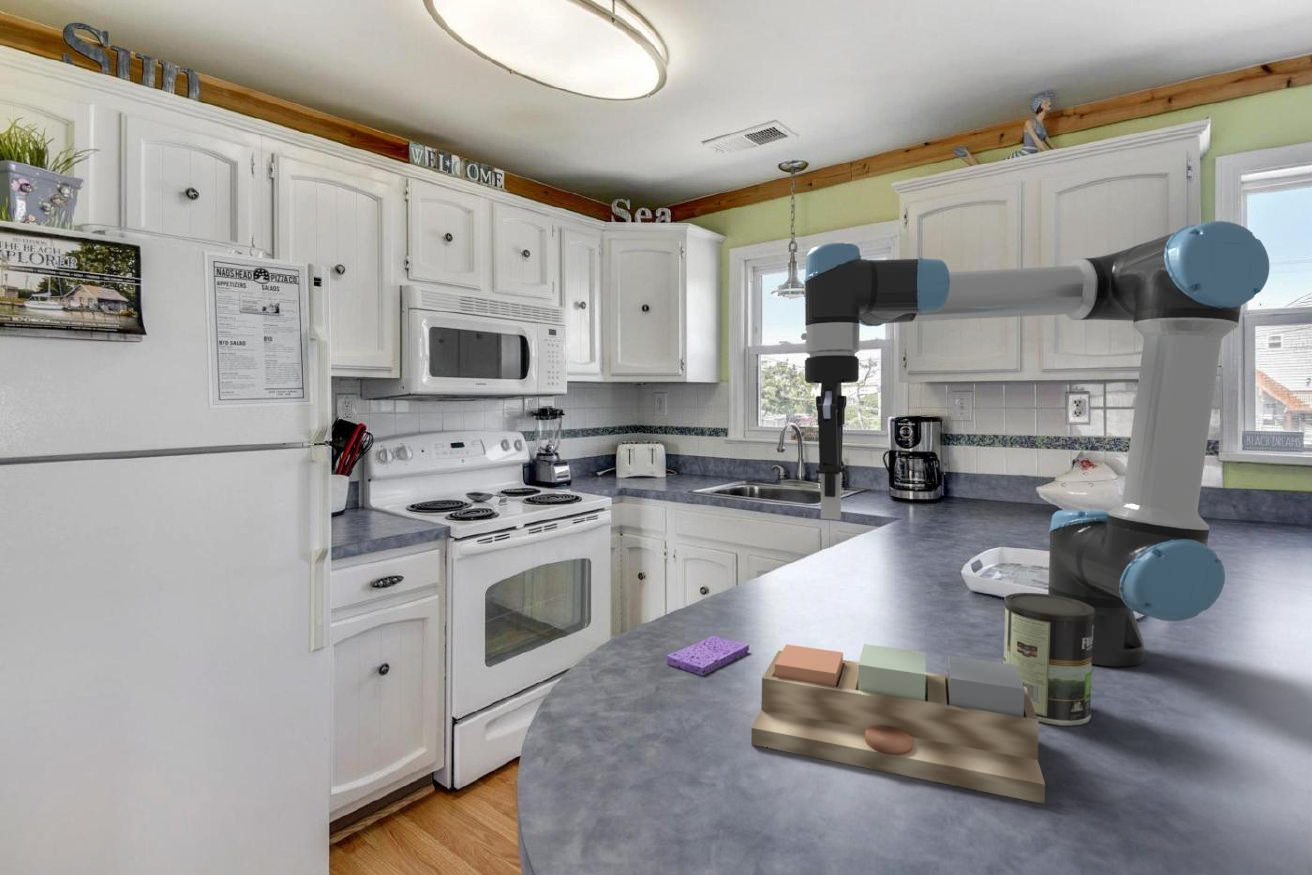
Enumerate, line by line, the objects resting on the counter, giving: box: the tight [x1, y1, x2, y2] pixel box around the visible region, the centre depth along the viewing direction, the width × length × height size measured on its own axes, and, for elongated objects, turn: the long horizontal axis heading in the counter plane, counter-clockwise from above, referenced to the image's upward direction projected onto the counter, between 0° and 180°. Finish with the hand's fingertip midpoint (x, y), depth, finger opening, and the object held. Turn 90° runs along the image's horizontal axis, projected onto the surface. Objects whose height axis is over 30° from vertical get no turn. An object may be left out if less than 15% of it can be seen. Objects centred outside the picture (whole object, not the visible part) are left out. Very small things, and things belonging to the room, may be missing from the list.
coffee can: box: [1003, 592, 1095, 727], centre depth 88 cm, size 10×10×14 cm
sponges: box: [666, 635, 750, 676], centre depth 105 cm, size 7×13×2 cm, turn 139°
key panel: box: [750, 650, 1046, 805], centre depth 79 cm, size 30×15×6 cm, turn 68°
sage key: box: [858, 643, 927, 701], centre depth 82 cm, size 7×7×5 cm
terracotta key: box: [775, 644, 844, 687], centre depth 85 cm, size 7×7×5 cm
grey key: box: [947, 654, 1025, 717], centre depth 78 cm, size 7×7×5 cm
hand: (830, 518), depth 97 cm, fingers closed
